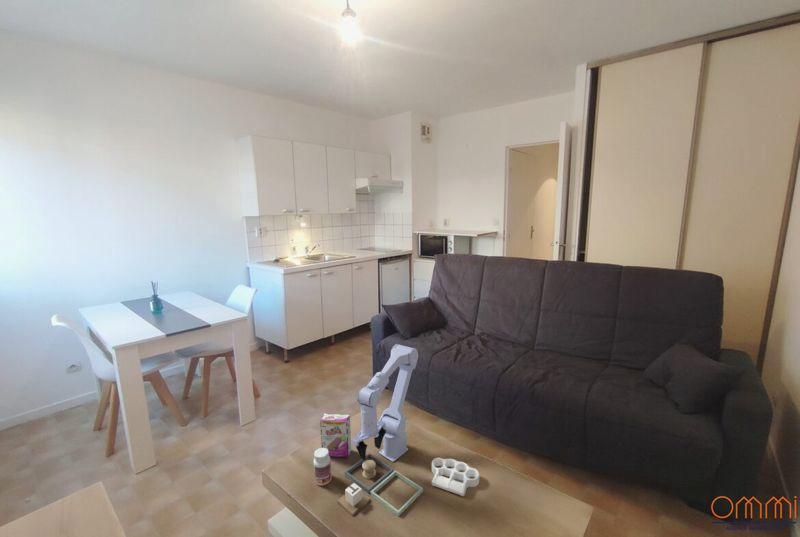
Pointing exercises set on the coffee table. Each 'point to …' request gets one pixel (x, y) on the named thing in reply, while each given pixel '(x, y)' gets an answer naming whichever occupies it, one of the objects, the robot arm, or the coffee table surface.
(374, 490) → the green tray
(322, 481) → the pill bottle
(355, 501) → the letter cube
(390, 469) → the charcoal tray
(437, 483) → the knuckle duster
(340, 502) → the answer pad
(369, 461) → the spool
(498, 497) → the coffee table surface
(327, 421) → the candy bar box
